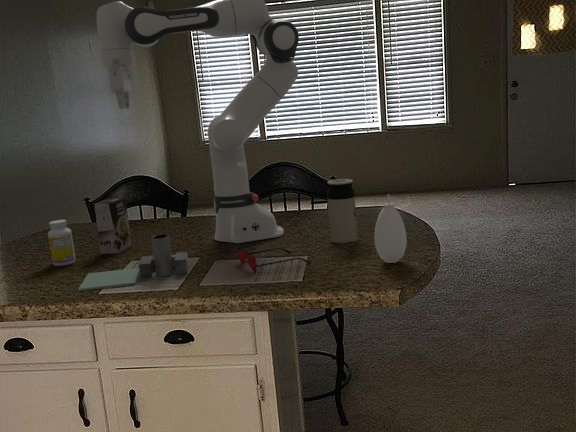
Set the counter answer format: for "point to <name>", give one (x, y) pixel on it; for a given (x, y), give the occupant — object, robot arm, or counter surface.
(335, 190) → the travel mug
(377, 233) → the sauce bottle
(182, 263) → the grey tube mount
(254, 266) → the glasses
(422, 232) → the counter surface
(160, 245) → the grey cylinder
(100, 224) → the coffee box
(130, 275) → the mat
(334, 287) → the counter surface
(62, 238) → the supplement bottle
